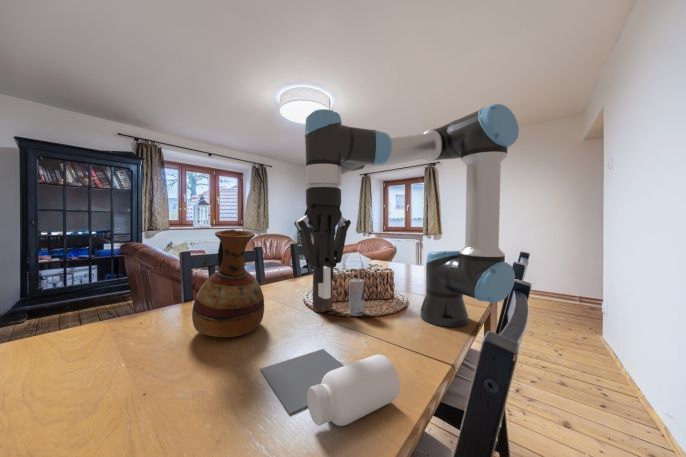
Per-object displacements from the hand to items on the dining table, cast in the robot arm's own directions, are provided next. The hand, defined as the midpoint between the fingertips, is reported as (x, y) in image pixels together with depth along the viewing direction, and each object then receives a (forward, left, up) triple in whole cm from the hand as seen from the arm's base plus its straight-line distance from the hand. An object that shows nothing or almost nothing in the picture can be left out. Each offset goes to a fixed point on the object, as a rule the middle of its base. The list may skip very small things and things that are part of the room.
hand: (324, 296), depth 57 cm
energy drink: (-28, -24, -17) cm, 40 cm away
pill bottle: (-5, +14, -13) cm, 19 cm away
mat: (+3, 0, -16) cm, 17 cm away
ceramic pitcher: (+12, -34, -17) cm, 40 cm away
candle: (-20, -34, -17) cm, 43 cm away
